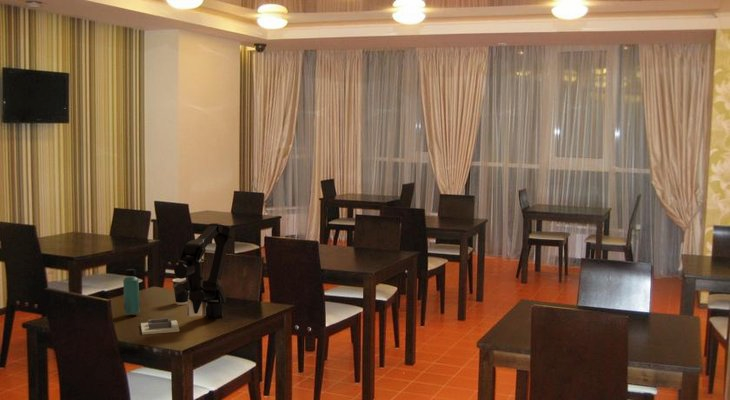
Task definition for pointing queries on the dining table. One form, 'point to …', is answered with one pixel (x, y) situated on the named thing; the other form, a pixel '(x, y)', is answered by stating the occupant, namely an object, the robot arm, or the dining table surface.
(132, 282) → the beverage bottle
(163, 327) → the header board
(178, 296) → the dixie cup
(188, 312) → the plug
